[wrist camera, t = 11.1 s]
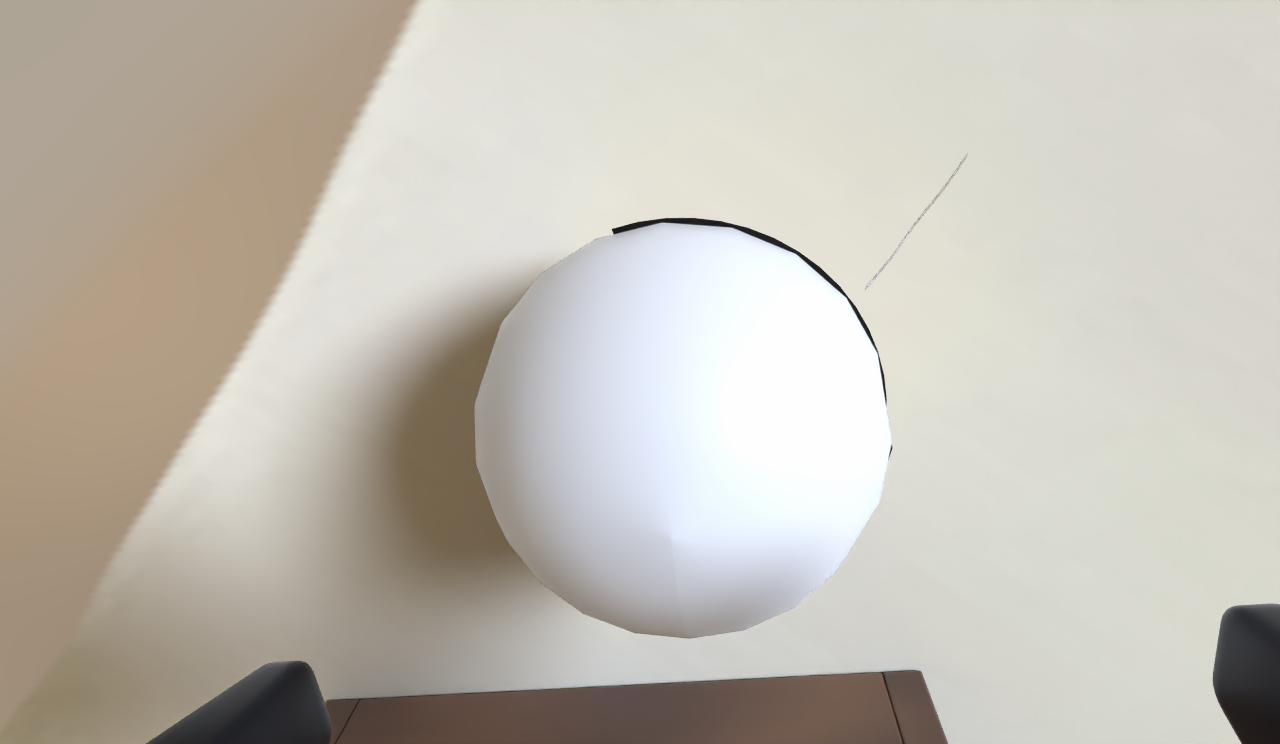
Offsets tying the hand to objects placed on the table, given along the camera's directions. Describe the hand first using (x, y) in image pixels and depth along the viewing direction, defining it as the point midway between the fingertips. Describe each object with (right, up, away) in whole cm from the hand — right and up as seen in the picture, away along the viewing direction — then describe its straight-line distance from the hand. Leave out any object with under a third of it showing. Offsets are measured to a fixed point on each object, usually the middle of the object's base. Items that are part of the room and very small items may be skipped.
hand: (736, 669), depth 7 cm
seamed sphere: (+1, +4, +9) cm, 10 cm away
